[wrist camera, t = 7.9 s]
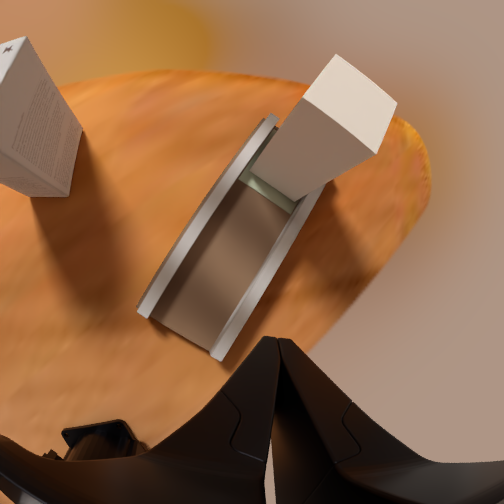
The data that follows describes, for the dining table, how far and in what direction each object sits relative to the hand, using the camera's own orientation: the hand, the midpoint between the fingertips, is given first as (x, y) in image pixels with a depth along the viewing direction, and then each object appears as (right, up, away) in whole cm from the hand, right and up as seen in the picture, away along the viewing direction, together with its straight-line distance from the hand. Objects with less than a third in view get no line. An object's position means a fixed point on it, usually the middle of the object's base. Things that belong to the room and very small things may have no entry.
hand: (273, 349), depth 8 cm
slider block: (+2, +9, +13) cm, 16 cm away
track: (-1, +4, +13) cm, 14 cm away
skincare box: (-16, +10, +10) cm, 22 cm away
